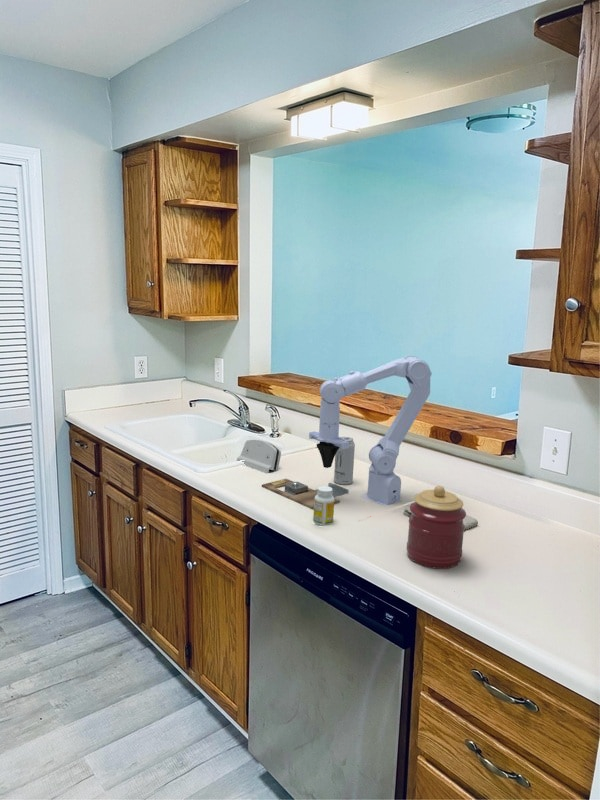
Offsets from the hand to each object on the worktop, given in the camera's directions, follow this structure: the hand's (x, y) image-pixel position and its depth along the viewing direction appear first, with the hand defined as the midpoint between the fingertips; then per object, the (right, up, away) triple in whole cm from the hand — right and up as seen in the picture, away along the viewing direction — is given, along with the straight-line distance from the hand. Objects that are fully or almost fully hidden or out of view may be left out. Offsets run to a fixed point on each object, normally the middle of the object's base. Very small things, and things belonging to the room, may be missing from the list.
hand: (327, 467), depth 172 cm
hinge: (-22, -3, +31) cm, 38 cm away
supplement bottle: (-2, -13, -16) cm, 21 cm away
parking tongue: (+1, -9, +6) cm, 11 cm away
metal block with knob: (-9, -9, +5) cm, 14 cm away
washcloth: (+31, -14, -11) cm, 35 cm away
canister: (+24, -18, -33) cm, 44 cm away
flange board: (-8, -9, +3) cm, 13 cm away
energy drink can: (+6, -7, +15) cm, 18 cm away
